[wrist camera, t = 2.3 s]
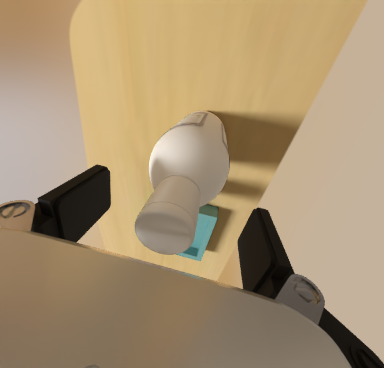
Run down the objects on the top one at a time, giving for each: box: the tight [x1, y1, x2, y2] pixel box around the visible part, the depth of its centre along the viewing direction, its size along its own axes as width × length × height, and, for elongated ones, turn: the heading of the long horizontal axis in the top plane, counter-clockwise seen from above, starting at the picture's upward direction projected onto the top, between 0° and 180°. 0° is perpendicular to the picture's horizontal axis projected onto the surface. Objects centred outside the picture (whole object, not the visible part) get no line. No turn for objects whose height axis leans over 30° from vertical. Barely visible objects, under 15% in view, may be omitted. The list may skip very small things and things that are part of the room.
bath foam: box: [135, 111, 230, 255], centre depth 17 cm, size 7×7×20 cm
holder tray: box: [144, 204, 218, 261], centre depth 33 cm, size 12×12×3 cm
